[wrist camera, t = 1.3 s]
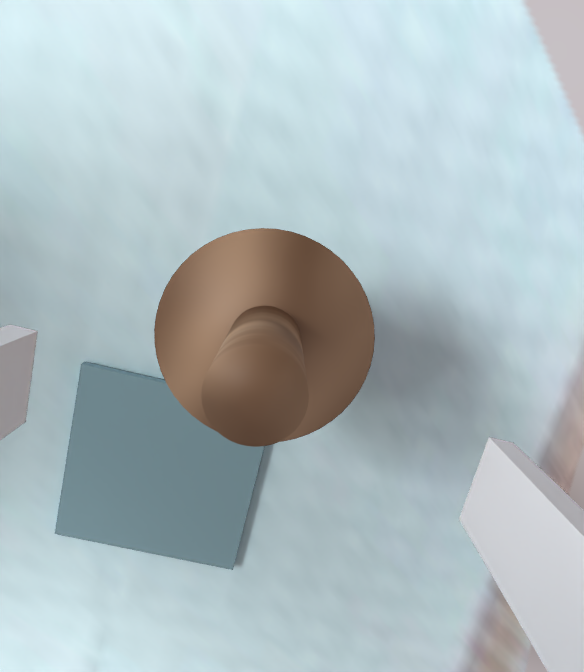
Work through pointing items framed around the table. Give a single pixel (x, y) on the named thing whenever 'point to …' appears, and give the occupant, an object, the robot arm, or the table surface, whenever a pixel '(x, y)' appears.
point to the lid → (264, 336)
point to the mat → (152, 472)
